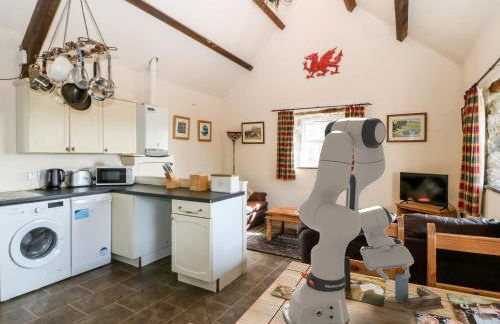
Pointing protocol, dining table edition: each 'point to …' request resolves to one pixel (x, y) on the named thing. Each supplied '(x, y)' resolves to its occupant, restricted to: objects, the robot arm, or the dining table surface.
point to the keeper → (401, 287)
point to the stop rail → (423, 298)
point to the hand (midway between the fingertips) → (397, 278)
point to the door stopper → (347, 272)
